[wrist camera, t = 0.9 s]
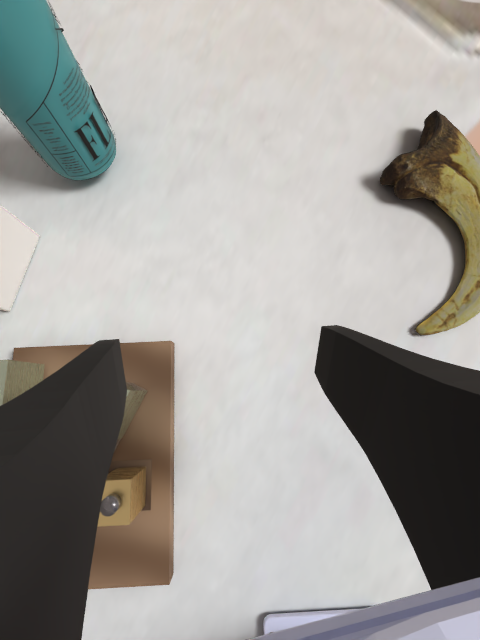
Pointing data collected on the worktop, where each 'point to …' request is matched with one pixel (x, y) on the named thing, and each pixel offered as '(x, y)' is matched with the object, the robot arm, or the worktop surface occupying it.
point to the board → (135, 451)
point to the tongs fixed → (18, 378)
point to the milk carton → (13, 255)
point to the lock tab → (123, 496)
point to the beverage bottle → (50, 93)
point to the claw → (446, 206)
